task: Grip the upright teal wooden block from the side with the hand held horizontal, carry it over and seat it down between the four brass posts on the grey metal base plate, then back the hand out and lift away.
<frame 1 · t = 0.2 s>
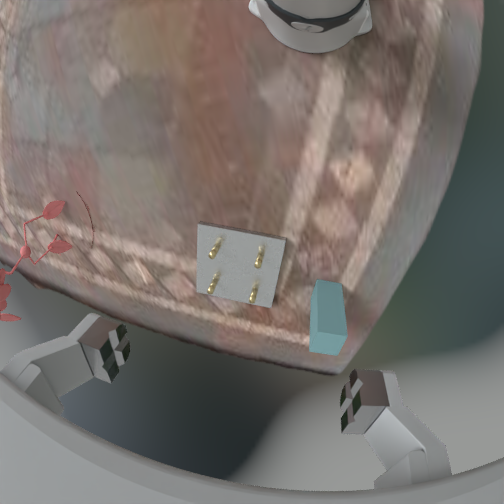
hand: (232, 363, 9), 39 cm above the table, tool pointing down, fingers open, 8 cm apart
post plate: (238, 265, 55), on the table
teal block: (325, 291, 54), on the table
figurine: (72, 225, 58), on the table
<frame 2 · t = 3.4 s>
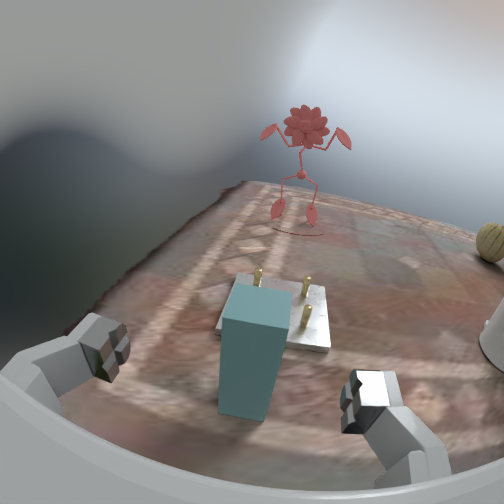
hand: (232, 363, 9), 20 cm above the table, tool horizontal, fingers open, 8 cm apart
post plate: (277, 311, 44), on the table
teal block: (244, 400, 29), on the table
cantaloupe: (486, 260, 78), on the table
figurine: (291, 225, 82), on the table
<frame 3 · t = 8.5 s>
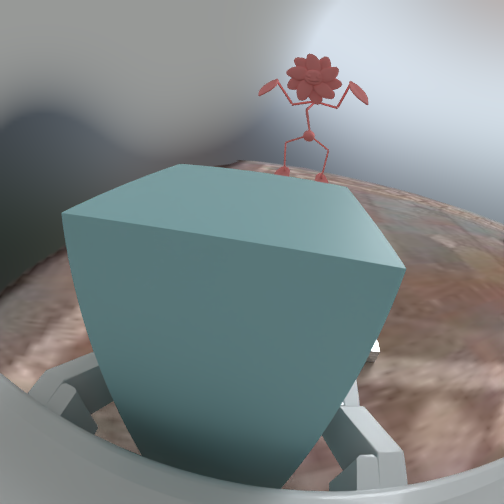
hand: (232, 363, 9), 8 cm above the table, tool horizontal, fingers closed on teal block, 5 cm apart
teal block: (221, 464, 12), on the table, touching gripper
figurine: (297, 197, 65), on the table
when the fingers open (11 cm above the table, at t = 13.8 s): teal block drops 1 cm, resting on post plate.
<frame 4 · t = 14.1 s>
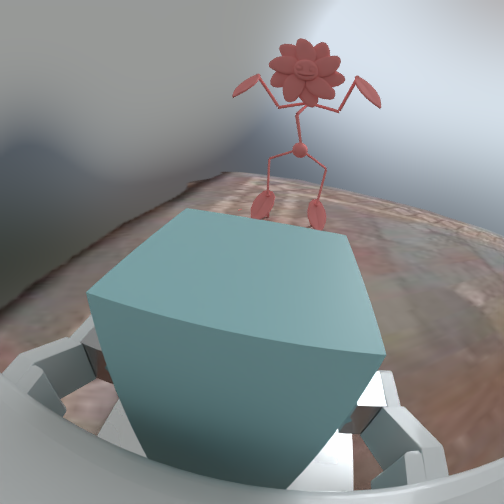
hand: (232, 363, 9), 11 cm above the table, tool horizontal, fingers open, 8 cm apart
post plate: (220, 476, 13), on the table
teal block: (222, 471, 12), point 1 cm above the table, touching post plate
figurine: (284, 233, 50), on the table
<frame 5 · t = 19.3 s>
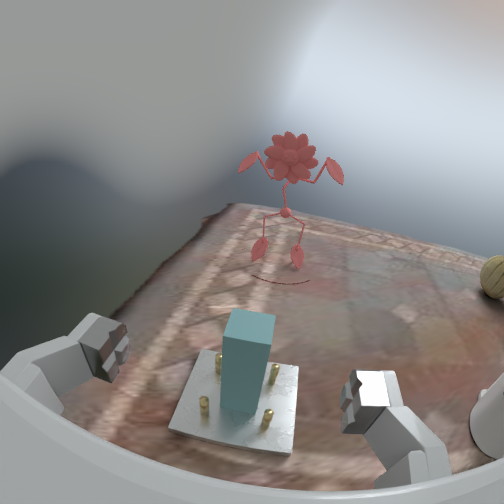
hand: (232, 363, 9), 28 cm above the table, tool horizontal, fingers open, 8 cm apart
post plate: (239, 401, 37), on the table
teal block: (241, 397, 36), point 1 cm above the table, touching post plate
cantaloupe: (489, 295, 70), on the table
figurine: (274, 269, 74), on the table
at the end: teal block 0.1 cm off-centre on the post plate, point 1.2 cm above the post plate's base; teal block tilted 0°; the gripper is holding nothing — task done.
